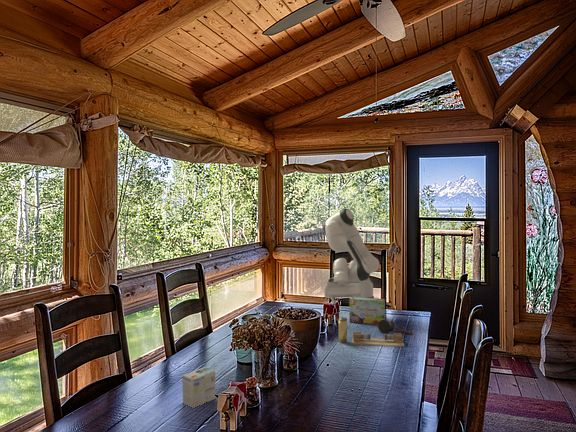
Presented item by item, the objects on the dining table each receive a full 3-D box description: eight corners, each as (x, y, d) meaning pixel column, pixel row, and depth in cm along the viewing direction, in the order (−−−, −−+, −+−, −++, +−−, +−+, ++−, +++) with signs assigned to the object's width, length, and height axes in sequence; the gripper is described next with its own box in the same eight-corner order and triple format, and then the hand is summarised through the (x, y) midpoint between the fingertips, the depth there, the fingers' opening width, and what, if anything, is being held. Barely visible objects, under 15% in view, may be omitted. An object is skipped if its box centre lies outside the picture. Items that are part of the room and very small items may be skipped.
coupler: (338, 340, 231) (338, 317, 230) (347, 340, 230) (347, 317, 230) (338, 342, 226) (338, 319, 226) (347, 343, 225) (347, 319, 225)
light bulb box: (204, 394, 165) (204, 366, 165) (216, 398, 161) (216, 370, 161) (181, 404, 157) (181, 374, 157) (193, 409, 153) (193, 379, 152)
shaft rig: (352, 338, 232) (352, 330, 232) (401, 340, 229) (401, 331, 229) (352, 344, 222) (352, 336, 222) (404, 346, 219) (404, 337, 219)
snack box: (349, 322, 265) (349, 298, 265) (350, 320, 271) (350, 296, 270) (384, 325, 259) (384, 300, 259) (385, 322, 264) (385, 298, 264)
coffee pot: (376, 330, 246) (383, 329, 252) (404, 341, 234) (412, 340, 240) (378, 317, 246) (386, 317, 252) (407, 328, 234) (414, 327, 240)
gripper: (359, 284, 249) (362, 305, 239) (324, 286, 251) (325, 307, 242) (359, 278, 244) (362, 299, 235) (323, 280, 246) (324, 301, 237)
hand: (343, 303), depth 238 cm, fingers open, 8 cm apart
